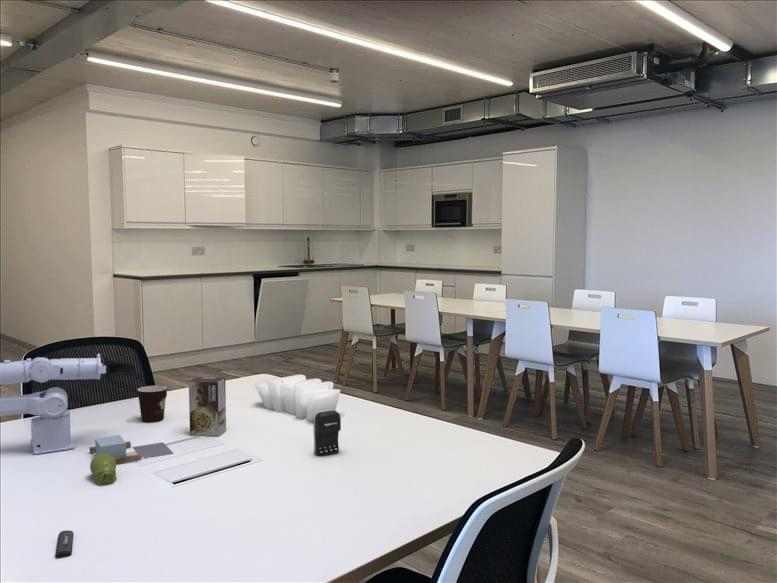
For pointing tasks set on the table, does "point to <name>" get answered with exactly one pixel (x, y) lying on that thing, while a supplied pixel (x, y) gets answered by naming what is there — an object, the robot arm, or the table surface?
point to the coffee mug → (152, 403)
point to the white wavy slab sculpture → (298, 395)
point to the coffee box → (207, 406)
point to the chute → (124, 458)
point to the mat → (153, 450)
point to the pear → (103, 469)
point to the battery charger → (326, 432)
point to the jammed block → (110, 446)
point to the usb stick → (64, 544)
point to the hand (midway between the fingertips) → (132, 367)
